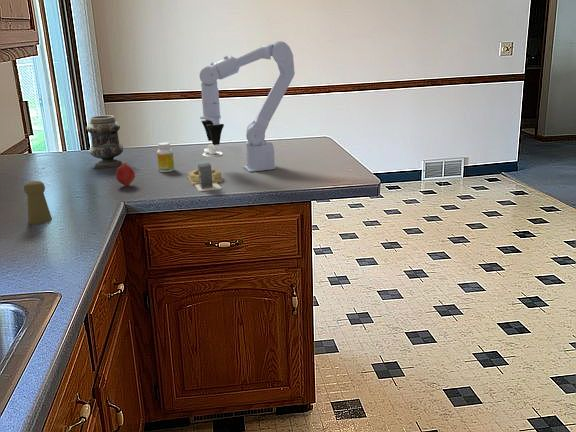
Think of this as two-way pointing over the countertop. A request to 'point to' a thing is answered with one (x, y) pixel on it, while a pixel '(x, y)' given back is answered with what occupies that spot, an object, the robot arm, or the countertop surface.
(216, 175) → the collar
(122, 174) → the pomegranate
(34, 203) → the yellow tapered knobbed piece
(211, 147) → the teacup and saucer
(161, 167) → the supplement bottle
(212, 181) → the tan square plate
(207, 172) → the steel block
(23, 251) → the countertop surface
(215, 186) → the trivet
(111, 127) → the carved stone vase
